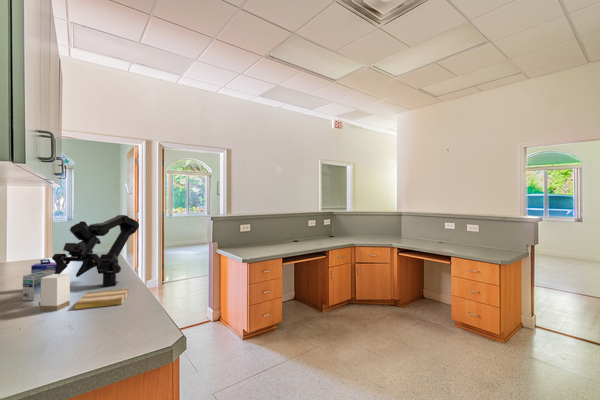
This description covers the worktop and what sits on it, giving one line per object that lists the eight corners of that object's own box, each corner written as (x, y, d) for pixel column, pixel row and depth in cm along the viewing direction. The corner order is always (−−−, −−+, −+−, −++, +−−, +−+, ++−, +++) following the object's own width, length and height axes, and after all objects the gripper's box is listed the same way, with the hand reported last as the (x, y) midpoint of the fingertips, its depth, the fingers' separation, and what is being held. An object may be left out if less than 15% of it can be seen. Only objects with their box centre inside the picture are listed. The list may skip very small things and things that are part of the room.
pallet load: (54, 305, 117) (54, 274, 117) (69, 305, 117) (69, 274, 117) (40, 310, 111) (40, 277, 111) (57, 310, 111) (57, 278, 111)
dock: (86, 298, 125) (86, 292, 125) (128, 294, 131) (128, 288, 131) (74, 309, 112) (74, 303, 112) (121, 304, 118) (121, 298, 118)
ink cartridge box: (30, 290, 135) (30, 260, 135) (36, 287, 141) (36, 258, 141) (55, 288, 139) (56, 259, 139) (60, 285, 144) (60, 257, 144)
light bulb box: (33, 301, 121) (33, 276, 121) (21, 300, 123) (21, 275, 123) (59, 293, 132) (59, 270, 132) (48, 292, 133) (48, 269, 133)
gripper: (55, 235, 124) (31, 265, 113) (97, 235, 124) (77, 266, 113) (70, 250, 132) (48, 280, 121) (109, 250, 132) (91, 280, 121)
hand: (65, 276), depth 119 cm, fingers open, 9 cm apart
